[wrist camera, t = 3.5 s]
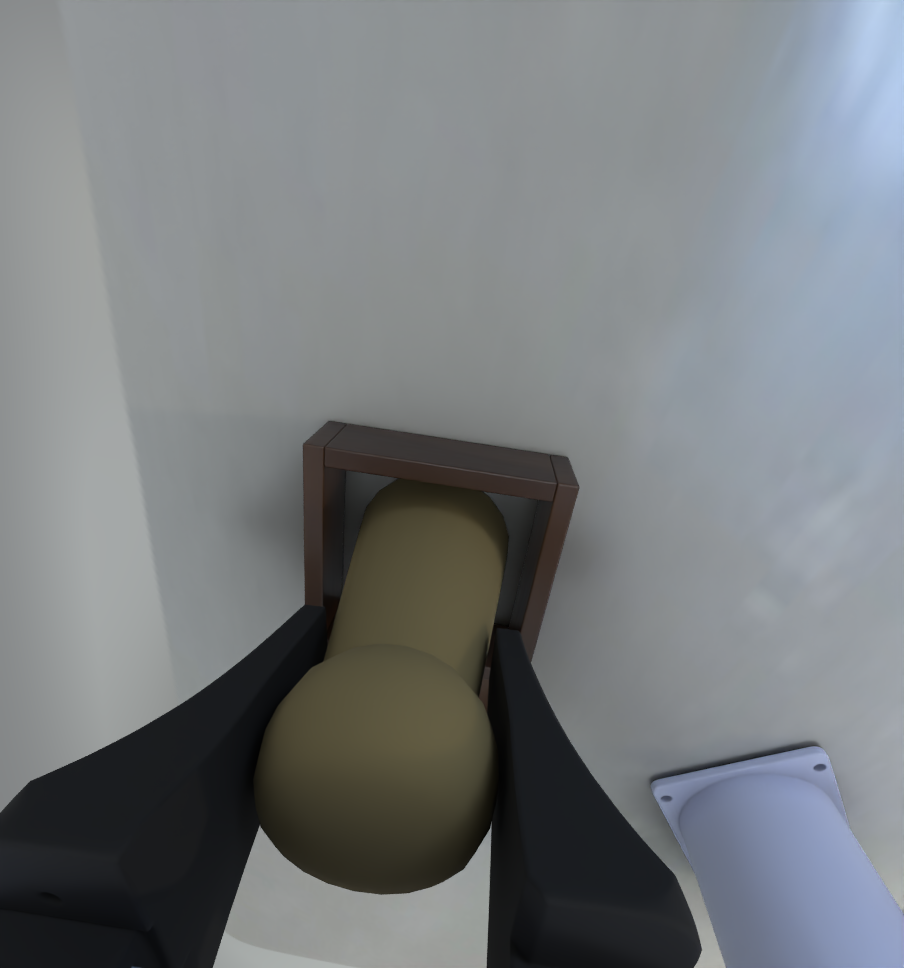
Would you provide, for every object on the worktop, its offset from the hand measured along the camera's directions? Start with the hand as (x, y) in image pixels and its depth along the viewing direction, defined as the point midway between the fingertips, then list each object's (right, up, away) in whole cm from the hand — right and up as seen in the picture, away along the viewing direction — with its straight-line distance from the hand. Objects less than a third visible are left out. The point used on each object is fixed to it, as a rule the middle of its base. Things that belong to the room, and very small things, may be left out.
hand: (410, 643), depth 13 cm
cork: (0, +2, +5) cm, 6 cm away
